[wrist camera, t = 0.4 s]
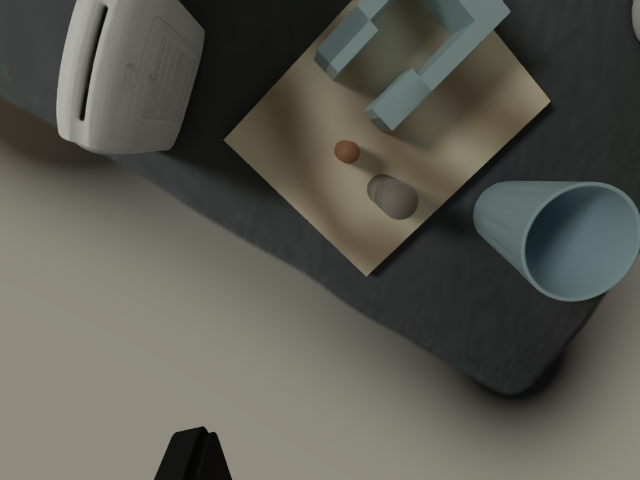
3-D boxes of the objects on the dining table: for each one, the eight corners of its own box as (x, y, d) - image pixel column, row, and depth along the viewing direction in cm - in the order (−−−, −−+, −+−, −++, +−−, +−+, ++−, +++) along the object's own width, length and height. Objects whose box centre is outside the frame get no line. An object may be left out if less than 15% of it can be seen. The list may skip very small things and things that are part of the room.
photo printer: (157, 2, 31) (67, -79, 19) (213, 25, 31) (161, -39, 20) (122, 138, 33) (23, 142, 21) (176, 157, 34) (109, 171, 22)
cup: (527, 149, 35) (620, 158, 25) (560, 227, 37) (659, 264, 27) (445, 195, 36) (503, 222, 26) (482, 269, 37) (549, 321, 27)
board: (410, -61, 31) (446, -123, 23) (542, 102, 34) (610, 94, 27) (226, 139, 34) (205, 142, 26) (364, 271, 37) (380, 307, 29)
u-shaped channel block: (417, -51, 30) (437, -83, 25) (481, 28, 31) (510, 11, 27) (314, 60, 31) (316, 48, 27) (379, 131, 33) (392, 130, 28)
